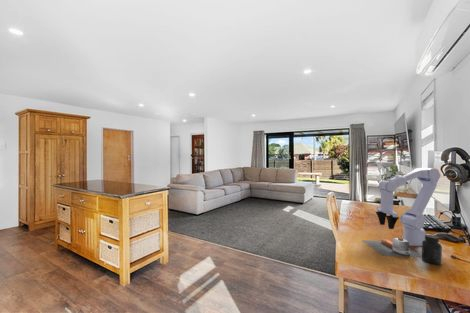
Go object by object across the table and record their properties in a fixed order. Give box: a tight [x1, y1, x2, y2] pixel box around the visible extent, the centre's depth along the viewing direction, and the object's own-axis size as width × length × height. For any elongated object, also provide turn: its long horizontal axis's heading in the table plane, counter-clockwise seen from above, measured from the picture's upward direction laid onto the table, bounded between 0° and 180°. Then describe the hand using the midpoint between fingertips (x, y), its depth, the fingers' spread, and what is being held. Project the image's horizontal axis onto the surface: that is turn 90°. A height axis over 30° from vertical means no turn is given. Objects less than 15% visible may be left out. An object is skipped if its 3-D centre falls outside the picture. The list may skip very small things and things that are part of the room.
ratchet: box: [380, 238, 410, 257], centre depth 114 cm, size 7×17×4 cm, turn 177°
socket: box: [392, 237, 410, 251], centre depth 109 cm, size 5×5×5 cm
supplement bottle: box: [421, 234, 443, 266], centre depth 100 cm, size 7×7×12 cm
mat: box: [361, 239, 422, 258], centre depth 115 cm, size 20×20×1 cm
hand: (386, 226), depth 122 cm, fingers open, 7 cm apart
